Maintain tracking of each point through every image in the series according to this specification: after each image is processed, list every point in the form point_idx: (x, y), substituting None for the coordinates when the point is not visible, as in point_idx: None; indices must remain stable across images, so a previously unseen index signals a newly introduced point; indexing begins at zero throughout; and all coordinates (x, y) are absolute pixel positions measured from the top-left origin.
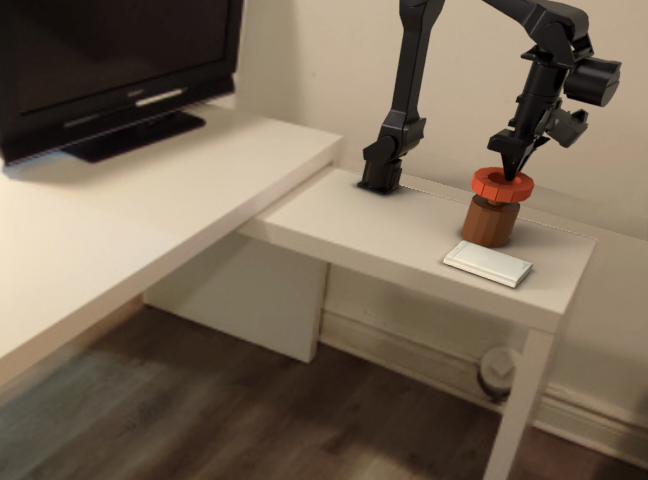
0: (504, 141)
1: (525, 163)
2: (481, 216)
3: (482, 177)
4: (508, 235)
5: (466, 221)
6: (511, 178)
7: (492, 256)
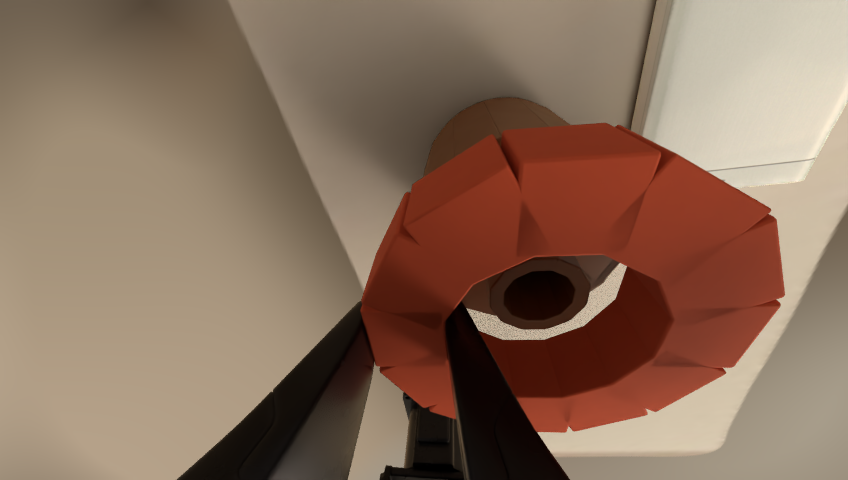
0: None
1: (317, 364)
2: None
3: (617, 402)
4: (512, 103)
5: None
6: (466, 312)
7: (733, 54)
